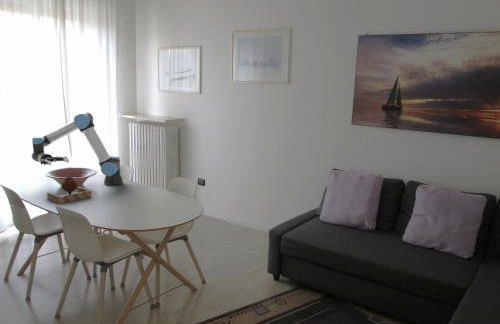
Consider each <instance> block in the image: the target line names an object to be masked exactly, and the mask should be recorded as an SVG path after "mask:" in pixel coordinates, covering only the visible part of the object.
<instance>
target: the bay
mask: <svg viewBox="0 0 500 324" xmlns="http://www.w3.org/2000/svg"><path fill="white" fill-rule="evenodd" d="M46 197H47V198H46V199H47V201H51V202H54V203H57V204H58V205H63V204H66V203H71V202H75V201H80V200H84V199H88V198H92V191H91V190H90V189H86V188H84V187H81V186H77V188H76V192H71V194H70V195H69V193H68V194H61V195H57V194H54V193H51V192H46Z"/></svg>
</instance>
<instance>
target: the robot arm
mask: <svg viewBox="0 0 500 324" xmlns="http://www.w3.org/2000/svg"><path fill="white" fill-rule="evenodd" d="M77 130H79V132H80V133H83V134H84V136H85V138H86V139H87V141H88V144H89V145H90V147H91V149H92V150H93V153H94V154H95V156H96V157H97V158H98V162H97V163H98V165H99V167H100V172H101V173H102V174H103V175H104V176H105V177H104V180H103V185H105V186H110V187H111V186H112V187H113V186H119V185H122V184H123V183H124V180H123V178H122V174H121V158H120V157H119V156H113V155H110V154H109V152H108V151H107V149H106V147H105V146H104V144H103V142H102V140H101V138H100V137H99V134H98V133H97V131H96V130H95V123H94V117H93V115H92V113H91V112H89V111H88V112H87V111H84V112H79V113H77V114H76V115H74V117H73V120H71V121H69V122H67V123H66V124H64V125H62V126H60V127H59V128H57V129H55V130H54V131H51V132H49V133H48V134H46V135H44V136H34V137H33V136H32V138H31V139H32V141H31V143H32V150H33V153H31V159H32V161H34V162H37V163H40V165H43V166H46V165H48V166H52V163H56V162H64V163H70V158H68V156H52V155H51V154H49V153H45V147H47V146H49V145H51V144H52V143H55V142H56V141H58V140H60V139H62V138H64V137H65V136H68V135H69V134H71V133H73V132H75V131H77ZM97 158H96V159H97Z"/></svg>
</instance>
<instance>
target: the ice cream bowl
mask: <svg viewBox="0 0 500 324" xmlns="http://www.w3.org/2000/svg"><path fill="white" fill-rule="evenodd" d="M60 186H61V189H62V190H63V191H65V192H67V193H68V194H69V195H70V194H71V193H73V192H74V191H75V190H77V187H78V183H77V180H75V179H74V178H73V177H71V176H66V178H65V179H64V181H63V182H62V183H61V185H60Z"/></svg>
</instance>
